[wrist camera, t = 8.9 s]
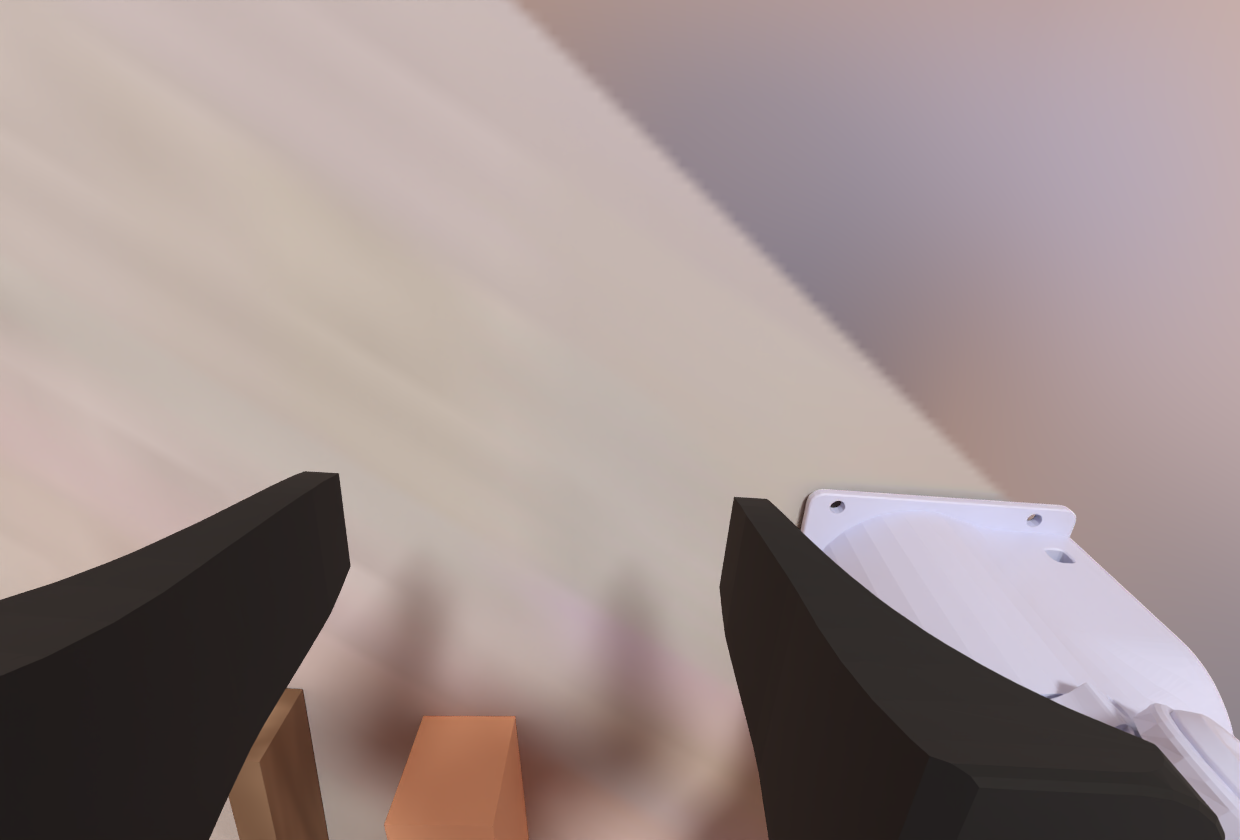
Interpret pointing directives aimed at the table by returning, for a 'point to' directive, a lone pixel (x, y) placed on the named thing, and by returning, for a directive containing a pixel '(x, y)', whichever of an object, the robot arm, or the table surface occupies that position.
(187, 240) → the table surface
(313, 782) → the wooden l-shaped bracket
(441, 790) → the block
